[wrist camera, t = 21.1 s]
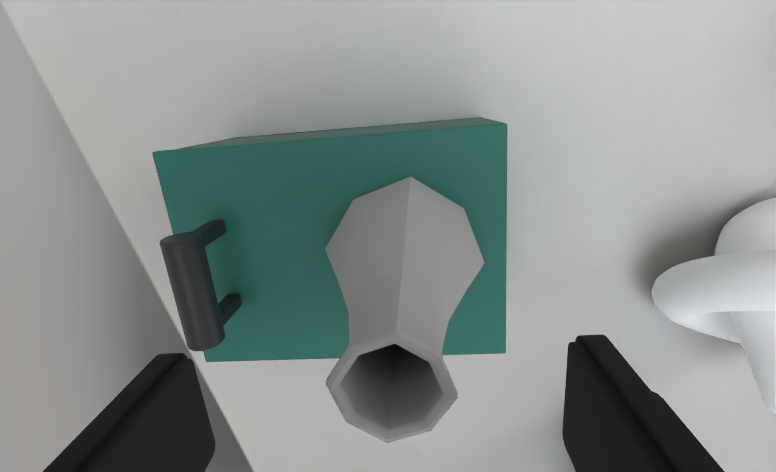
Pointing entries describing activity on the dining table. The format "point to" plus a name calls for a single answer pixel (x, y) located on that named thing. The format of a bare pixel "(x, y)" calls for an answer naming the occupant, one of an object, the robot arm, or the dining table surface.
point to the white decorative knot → (732, 292)
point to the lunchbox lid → (317, 236)
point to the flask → (399, 306)
